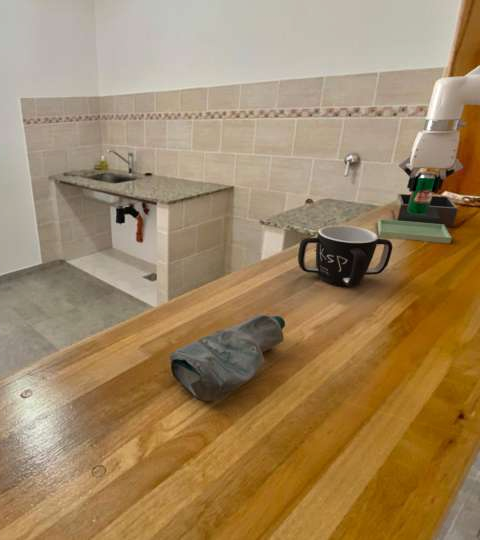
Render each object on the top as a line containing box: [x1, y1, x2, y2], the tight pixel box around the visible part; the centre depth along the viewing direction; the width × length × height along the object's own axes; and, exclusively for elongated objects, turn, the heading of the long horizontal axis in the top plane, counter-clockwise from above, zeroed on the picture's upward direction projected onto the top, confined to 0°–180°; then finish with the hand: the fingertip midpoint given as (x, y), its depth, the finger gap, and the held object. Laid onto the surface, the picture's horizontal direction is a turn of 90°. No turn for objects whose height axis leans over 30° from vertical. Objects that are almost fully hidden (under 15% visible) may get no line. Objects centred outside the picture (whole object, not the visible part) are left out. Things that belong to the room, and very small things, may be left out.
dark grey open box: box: [393, 193, 459, 229], centre depth 129 cm, size 15×16×6 cm
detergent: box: [169, 313, 286, 401], centre depth 65 cm, size 13×7×25 cm
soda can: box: [407, 171, 438, 215], centre depth 113 cm, size 5×5×12 cm
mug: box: [297, 225, 394, 288], centre depth 91 cm, size 16×16×12 cm
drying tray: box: [377, 218, 452, 244], centre depth 118 cm, size 17×13×2 cm
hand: (422, 190), depth 113 cm, fingers closed on soda can, 5 cm apart
